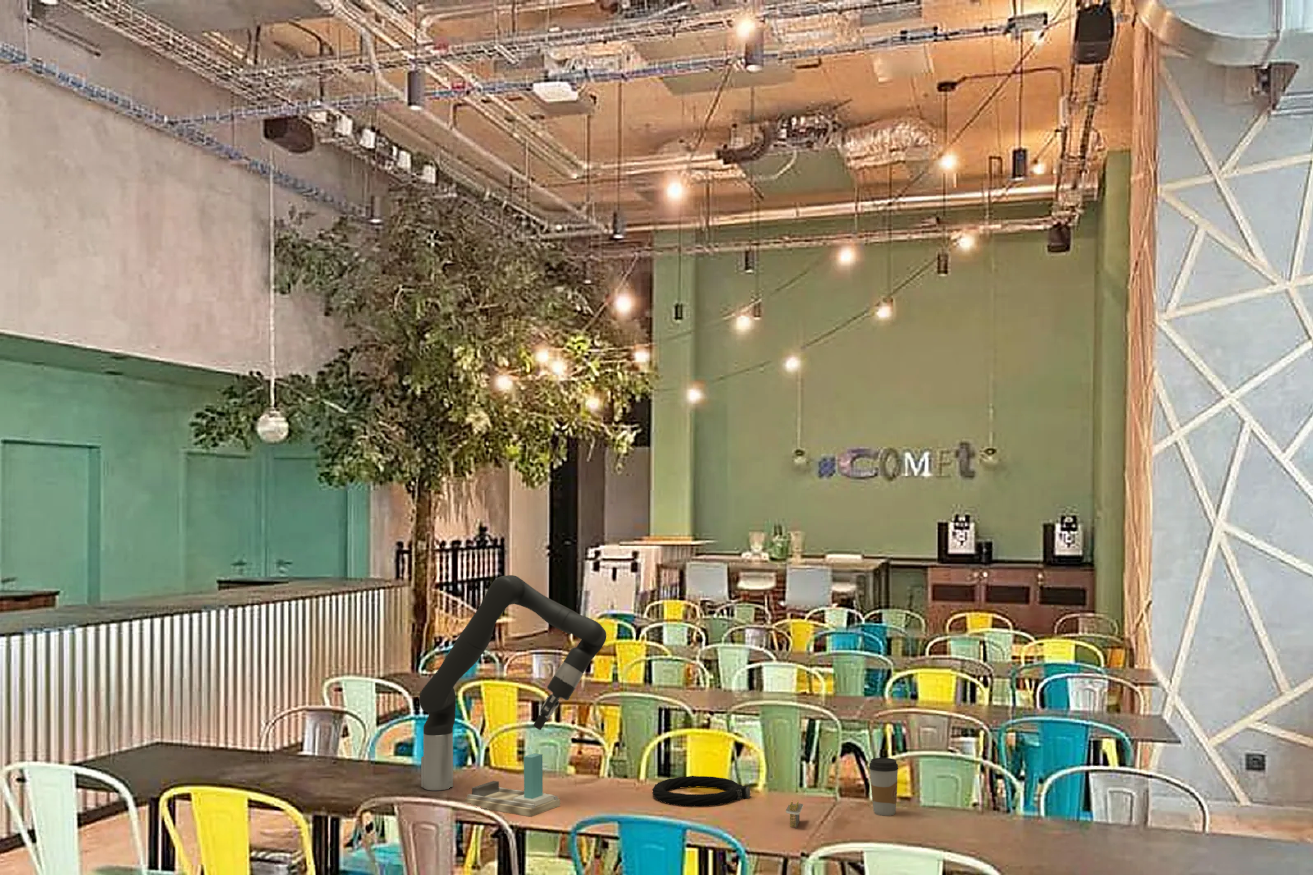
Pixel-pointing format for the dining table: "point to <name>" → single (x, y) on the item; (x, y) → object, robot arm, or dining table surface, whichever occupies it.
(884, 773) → the coffee cup
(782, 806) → the dining table surface
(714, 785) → the cable lock
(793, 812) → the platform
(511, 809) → the rail board
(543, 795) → the post
